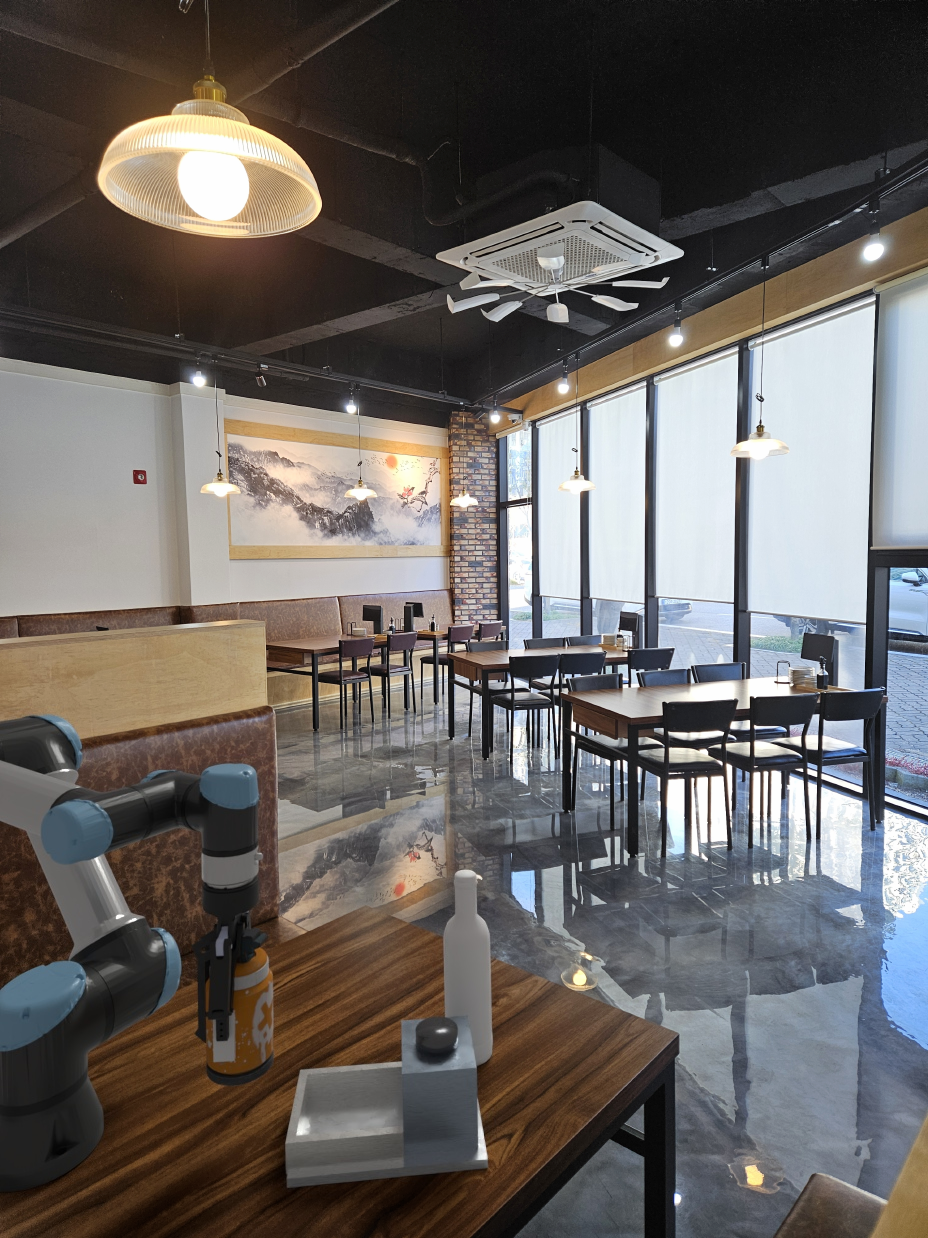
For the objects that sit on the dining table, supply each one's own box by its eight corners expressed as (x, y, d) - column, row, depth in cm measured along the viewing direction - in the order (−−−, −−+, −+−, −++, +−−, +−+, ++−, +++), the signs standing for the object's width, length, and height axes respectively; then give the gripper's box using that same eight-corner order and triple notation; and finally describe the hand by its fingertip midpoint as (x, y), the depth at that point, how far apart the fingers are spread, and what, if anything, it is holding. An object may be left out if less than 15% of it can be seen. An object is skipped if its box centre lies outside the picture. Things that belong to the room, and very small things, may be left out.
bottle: (484, 1072, 111) (480, 885, 111) (438, 1063, 114) (434, 880, 113) (498, 1042, 119) (495, 867, 118) (454, 1034, 122) (451, 862, 121)
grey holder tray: (285, 1188, 90) (282, 1079, 90) (301, 1100, 106) (299, 1007, 106) (487, 1168, 93) (485, 1062, 92) (474, 1085, 108) (472, 994, 108)
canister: (254, 1095, 93) (252, 947, 92) (179, 1084, 95) (177, 939, 95) (284, 1052, 102) (283, 916, 101) (215, 1042, 104) (213, 910, 103)
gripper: (241, 912, 87) (243, 1089, 88) (272, 849, 108) (273, 992, 109) (178, 914, 86) (181, 1094, 87) (222, 850, 108) (224, 995, 109)
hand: (232, 1037), depth 98 cm, fingers closed on canister, 9 cm apart
